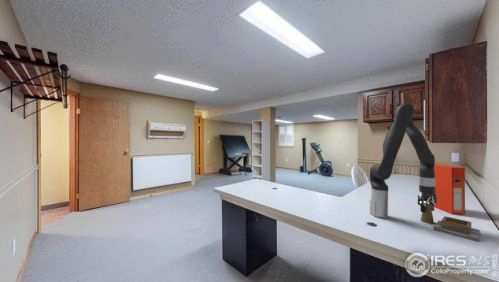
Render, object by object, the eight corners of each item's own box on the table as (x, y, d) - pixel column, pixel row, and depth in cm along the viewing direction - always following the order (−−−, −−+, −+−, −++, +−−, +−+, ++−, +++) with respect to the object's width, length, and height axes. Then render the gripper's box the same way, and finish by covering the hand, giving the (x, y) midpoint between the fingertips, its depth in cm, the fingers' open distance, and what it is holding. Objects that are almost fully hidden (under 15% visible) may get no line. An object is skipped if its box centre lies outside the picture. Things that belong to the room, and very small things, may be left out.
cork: (417, 219, 122) (418, 202, 122) (426, 219, 123) (426, 202, 123) (427, 223, 116) (427, 205, 116) (436, 223, 117) (436, 205, 117)
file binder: (451, 214, 133) (451, 167, 133) (431, 206, 150) (431, 164, 150) (465, 215, 132) (465, 167, 132) (443, 207, 149) (443, 164, 149)
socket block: (477, 241, 95) (477, 230, 95) (433, 229, 108) (433, 219, 108) (479, 232, 105) (479, 222, 105) (438, 222, 118) (438, 213, 118)
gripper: (427, 187, 114) (427, 214, 114) (441, 185, 119) (442, 211, 119) (412, 184, 121) (412, 210, 121) (426, 182, 126) (427, 208, 126)
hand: (427, 211), depth 120 cm, fingers open, 8 cm apart
